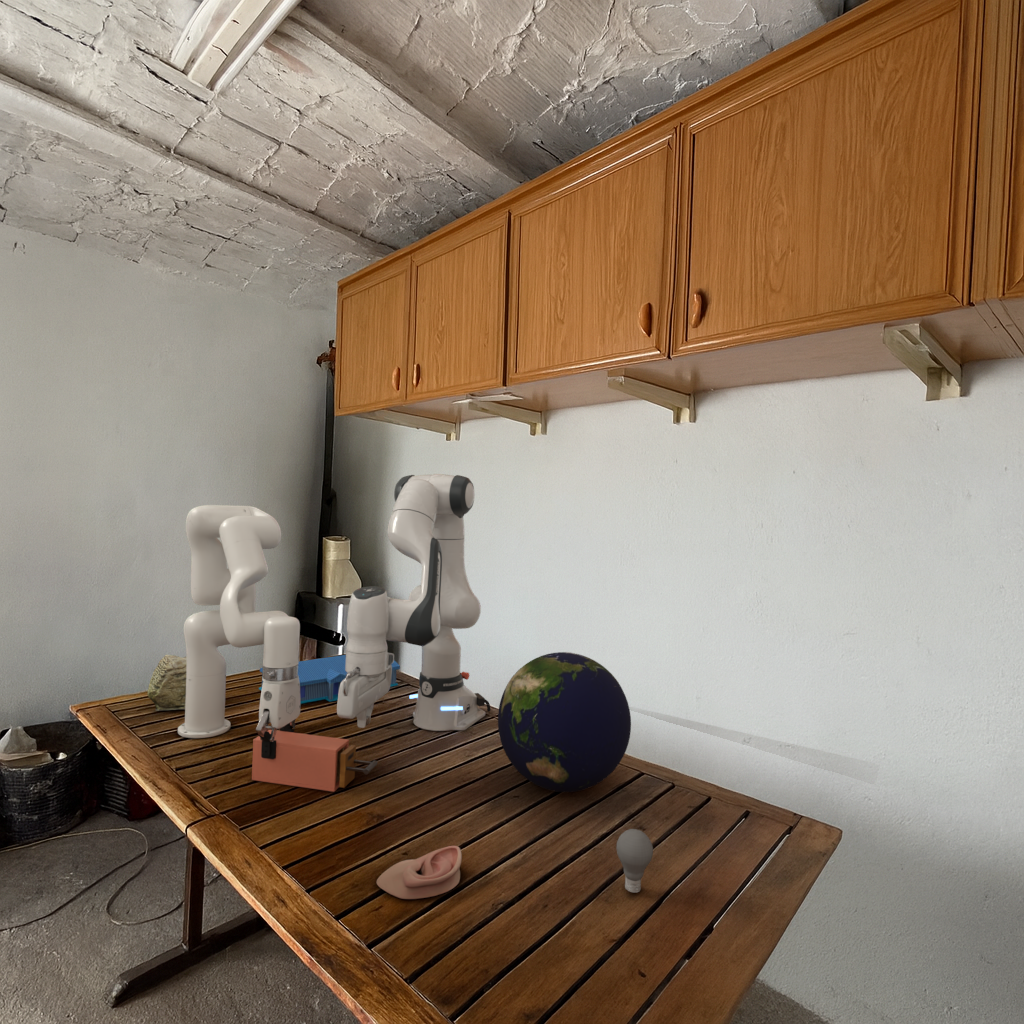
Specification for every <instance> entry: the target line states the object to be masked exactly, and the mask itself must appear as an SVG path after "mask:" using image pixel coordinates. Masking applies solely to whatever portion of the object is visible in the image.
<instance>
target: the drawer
mask: <svg viewBox="0 0 1024 1024" xmlns="http://www.w3.org/2000/svg"><path fill="white" fill-rule="evenodd" d="M344 748H345V746H344V747H343V748H342V749H341V750H339V751H338V752H337V770H336V783H337V782H338V781H339V780H340V782H339V788H343V789H345V788H346V787H347V786H348V785H349V784H350V783H351V782H352V781H353V780H354V779H355V778H356V772H358V773H363V774H364V775H365V776H366V775H368V774H370V773H371V772H372V771H373V769H375V768H376V766H378V761H377V760H372V761H369V760H362V759H356V754H357V745H355V744H349V747H348V748H347V749H346V750H344ZM356 764H357V765H358V764H359V765H366V767H365V768H361V767H356Z"/></svg>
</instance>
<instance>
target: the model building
mask: <svg viewBox="0 0 1024 1024" xmlns="http://www.w3.org/2000/svg"><path fill="white" fill-rule="evenodd" d="M345 665H346V654H342V655H341V654H340V655H335V656H329V657H328V656H327V657H321V658H315V659H314V658H313V659H307V660H299V663H298V676H299V682H300V705H302V704H307V703H312V702H317V701H323V700H325V701H327V702H329V703H330V702H335V701H336V702H337V701H338V693H339V687H340V684H341V682H342V681H343V680H344V679H345V678H346V674H347V672H346V671H345ZM391 665H392V675H391V685H390V688H392V687H395V686H399V683H398V682H397V670H400V669H401V665H400V664H399V663H398V662H397V661H396V660H395V659H394V662H393V663H392V664H391ZM259 672H260V673H261V686H260V687H258V690H260V691H261V690H262V685H263V682H264V681H263V680H262V678H263V677H262V676H263V667H260V668H259Z"/></svg>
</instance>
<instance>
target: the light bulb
mask: <svg viewBox="0 0 1024 1024" xmlns="http://www.w3.org/2000/svg"><path fill="white" fill-rule="evenodd" d="M615 849H616V854H617V857H618V859H619V861H620V863H621V865H622V867H623V873H624V874H623V875H624V876H625V878H624V888H625V890H627V891H628V892H630V893H634V894H635V893H639V892H640V891H641V889H642V887H641V886H642V879H643V877H644V875H645V871H646V868H647V867H648V866H649V864H650V863H651V861H652V859H653V855H654V847H653V843H652V841H651V838H649V836H648V835H647V834H646V833H645V832H643V831H642V830H641V829H636V828H629V829H627V830H625V831H623V832H622V833H621V834H620V835H619V837H618V839H617V841H616V847H615Z"/></svg>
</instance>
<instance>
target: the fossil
mask: <svg viewBox="0 0 1024 1024" xmlns="http://www.w3.org/2000/svg"><path fill="white" fill-rule="evenodd" d="M186 668H187V656H183V657H182V656H178V655H175V654H174V655H173V654H165V655H164V656H163V657H162V658H161V659H160V660H159V662H158V663H157V666H156V667H155V669H154V670H153V672H152V675H151V677H150V680H149V684H148V688H147V697H148V699H149V700H150V701H152V703H153V704H154V706H155V711H158V712H159V711H162V712H163V711H177V710H185V701H186Z"/></svg>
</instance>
